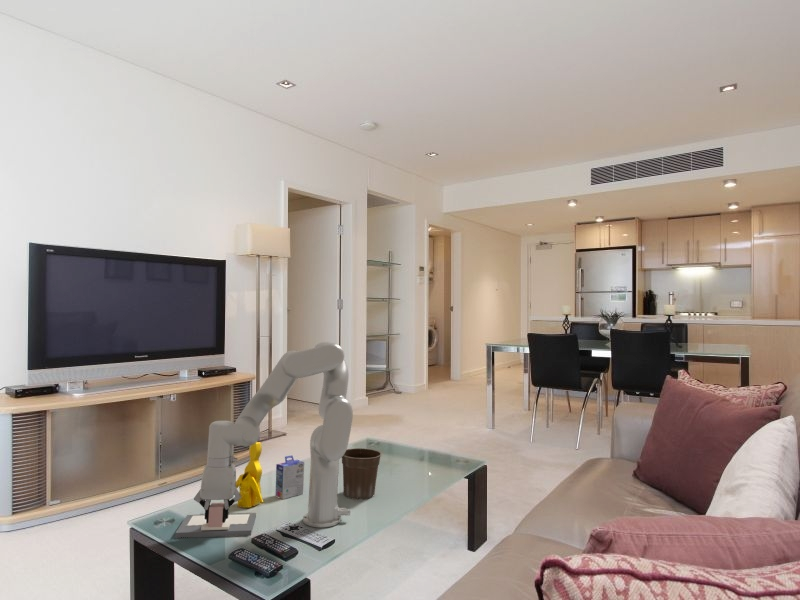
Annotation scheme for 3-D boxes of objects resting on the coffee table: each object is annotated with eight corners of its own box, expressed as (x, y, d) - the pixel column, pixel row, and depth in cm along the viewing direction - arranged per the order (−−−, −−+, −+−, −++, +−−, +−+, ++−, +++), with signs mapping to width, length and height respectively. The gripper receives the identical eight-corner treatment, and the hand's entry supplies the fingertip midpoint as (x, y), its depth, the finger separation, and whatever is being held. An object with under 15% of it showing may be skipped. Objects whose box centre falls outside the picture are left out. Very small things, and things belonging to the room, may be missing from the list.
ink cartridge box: (295, 490, 194) (297, 453, 195) (303, 494, 190) (305, 456, 191) (274, 495, 187) (276, 457, 187) (282, 499, 183) (284, 460, 184)
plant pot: (353, 485, 203) (355, 445, 204) (387, 492, 195) (389, 451, 196) (330, 496, 189) (332, 453, 190) (365, 504, 181) (367, 460, 182)
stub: (230, 524, 154) (231, 502, 155) (228, 529, 151) (229, 506, 151) (203, 525, 153) (205, 502, 153) (200, 530, 149) (202, 507, 150)
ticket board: (255, 517, 165) (256, 512, 165) (250, 535, 151) (251, 529, 151) (186, 519, 161) (187, 514, 161) (175, 537, 147) (175, 532, 147)
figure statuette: (222, 503, 177) (226, 441, 178) (239, 497, 184) (242, 437, 185) (257, 514, 168) (261, 449, 169) (274, 507, 175) (277, 445, 176)
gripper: (249, 458, 158) (245, 515, 157) (194, 458, 155) (190, 517, 154) (246, 464, 151) (242, 525, 150) (188, 465, 148) (184, 527, 147)
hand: (216, 520), depth 152 cm, fingers closed on stub, 4 cm apart
